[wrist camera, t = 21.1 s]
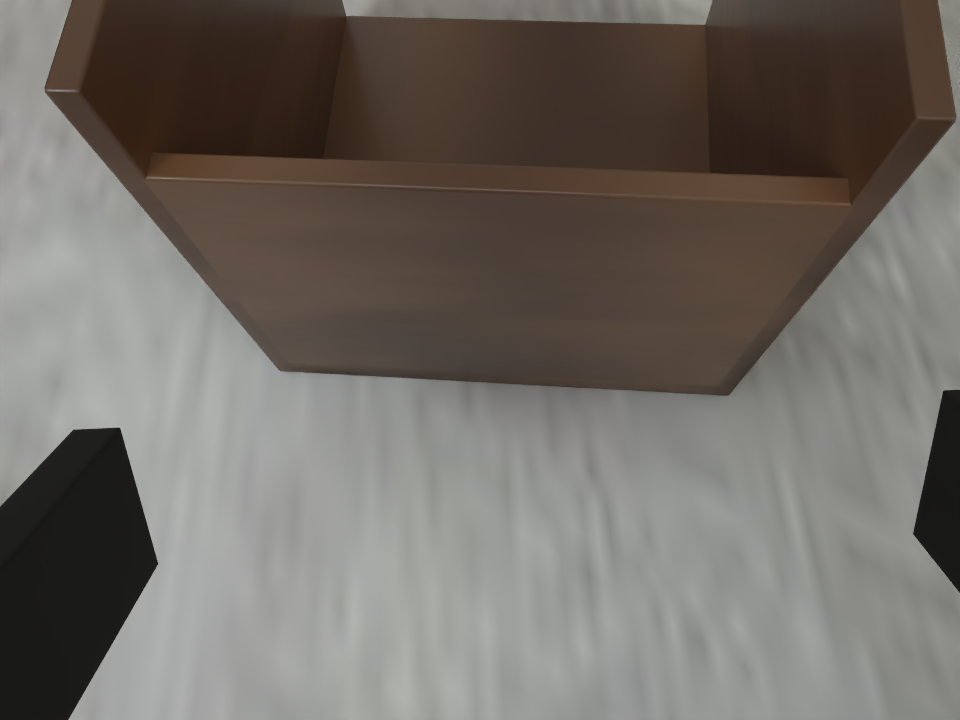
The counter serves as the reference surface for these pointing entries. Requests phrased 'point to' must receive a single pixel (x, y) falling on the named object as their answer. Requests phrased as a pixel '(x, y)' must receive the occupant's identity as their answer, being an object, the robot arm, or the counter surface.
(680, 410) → the counter surface
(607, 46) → the brown wooden open box
